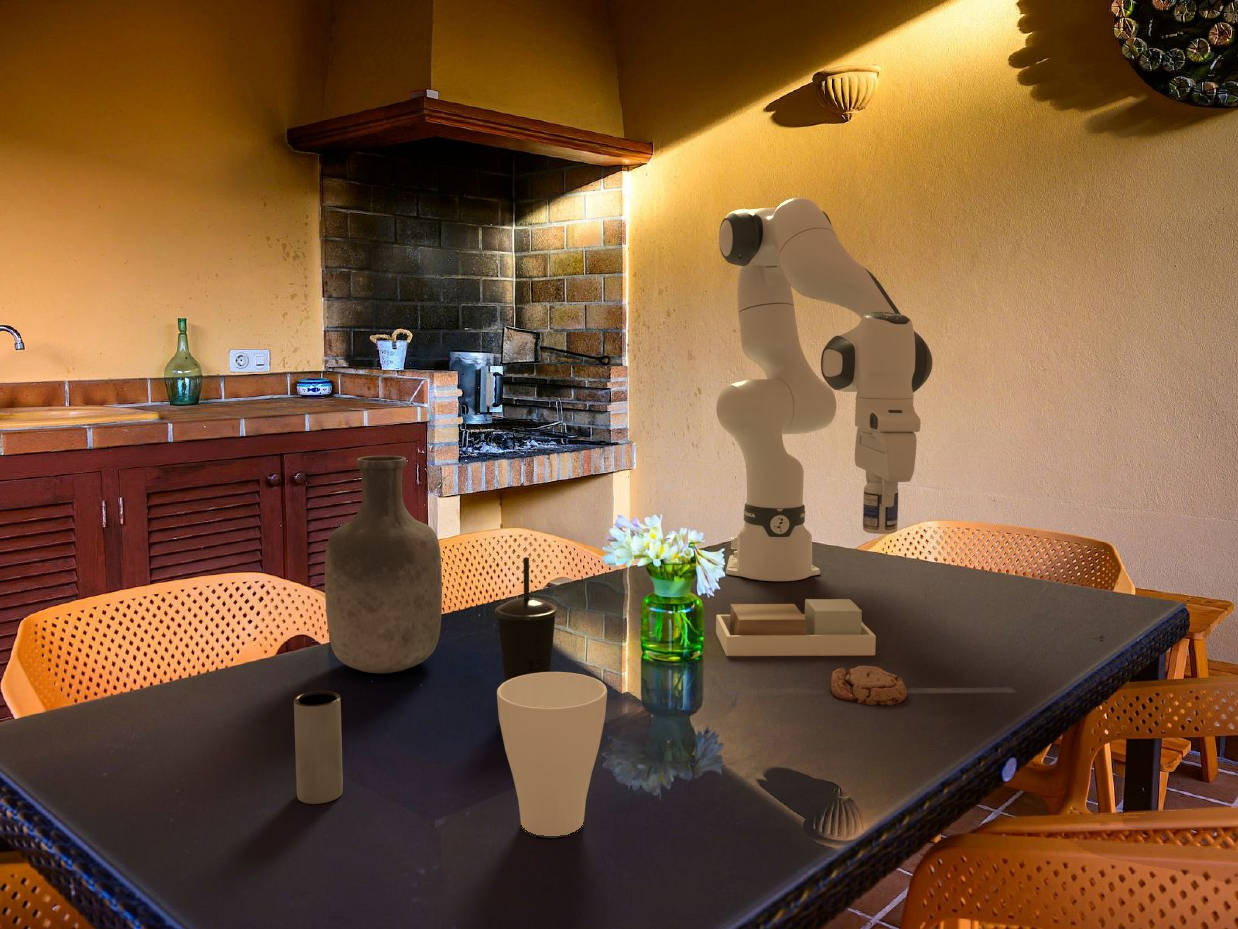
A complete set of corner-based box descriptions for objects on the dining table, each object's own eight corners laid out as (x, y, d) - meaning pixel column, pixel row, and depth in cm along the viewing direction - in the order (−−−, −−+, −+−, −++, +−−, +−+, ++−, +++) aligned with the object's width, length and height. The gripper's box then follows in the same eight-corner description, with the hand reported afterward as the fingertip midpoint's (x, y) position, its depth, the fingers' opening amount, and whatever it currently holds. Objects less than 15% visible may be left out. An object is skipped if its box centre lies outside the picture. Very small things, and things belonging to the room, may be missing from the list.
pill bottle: (894, 528, 167) (896, 469, 166) (900, 535, 162) (901, 473, 160) (860, 528, 168) (861, 468, 166) (865, 534, 162) (866, 473, 161)
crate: (715, 636, 163) (716, 614, 162) (853, 635, 164) (854, 614, 163) (726, 659, 151) (726, 636, 151) (874, 659, 152) (875, 636, 151)
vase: (429, 646, 157) (426, 450, 153) (454, 678, 142) (452, 462, 138) (321, 658, 151) (315, 454, 147) (335, 693, 136) (329, 467, 132)
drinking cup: (484, 714, 129) (482, 556, 126) (534, 700, 134) (533, 549, 131) (519, 732, 123) (518, 567, 120) (570, 717, 128) (570, 559, 125)
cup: (609, 801, 105) (609, 672, 103) (603, 852, 94) (604, 710, 93) (506, 799, 105) (505, 670, 103) (489, 849, 95) (488, 708, 93)
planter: (302, 785, 108) (299, 690, 106) (346, 784, 108) (344, 690, 107) (292, 805, 103) (288, 706, 102) (338, 804, 104) (335, 705, 102)
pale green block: (804, 636, 161) (805, 599, 160) (848, 636, 161) (849, 599, 160) (814, 650, 154) (815, 611, 153) (860, 650, 154) (861, 611, 153)
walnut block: (729, 635, 161) (730, 604, 161) (793, 635, 162) (794, 603, 161) (738, 652, 152) (739, 619, 152) (805, 652, 153) (806, 619, 152)
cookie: (890, 713, 131) (891, 690, 130) (814, 695, 137) (814, 674, 137) (919, 692, 138) (920, 670, 138) (846, 676, 145) (847, 655, 144)
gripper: (846, 411, 172) (844, 492, 174) (882, 421, 152) (879, 513, 154) (884, 411, 173) (880, 492, 174) (924, 421, 152) (920, 513, 154)
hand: (880, 502), depth 164 cm, fingers closed on pill bottle, 5 cm apart
